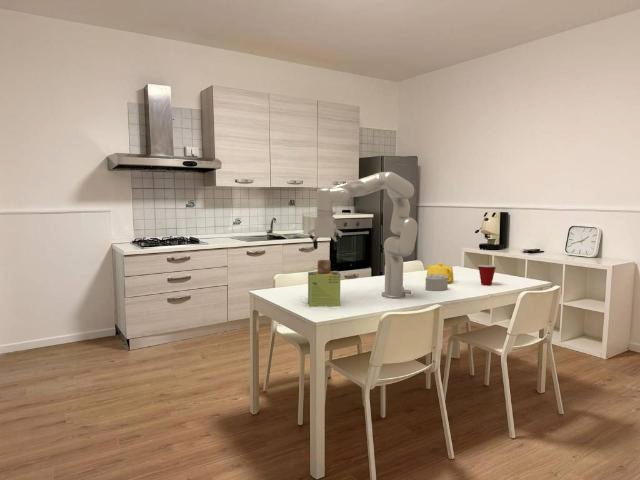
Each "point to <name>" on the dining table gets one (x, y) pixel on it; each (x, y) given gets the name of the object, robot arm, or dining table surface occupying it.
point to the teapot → (441, 271)
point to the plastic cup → (486, 274)
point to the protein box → (324, 289)
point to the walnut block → (324, 266)
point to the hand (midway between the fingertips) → (325, 249)
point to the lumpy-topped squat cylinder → (436, 282)
